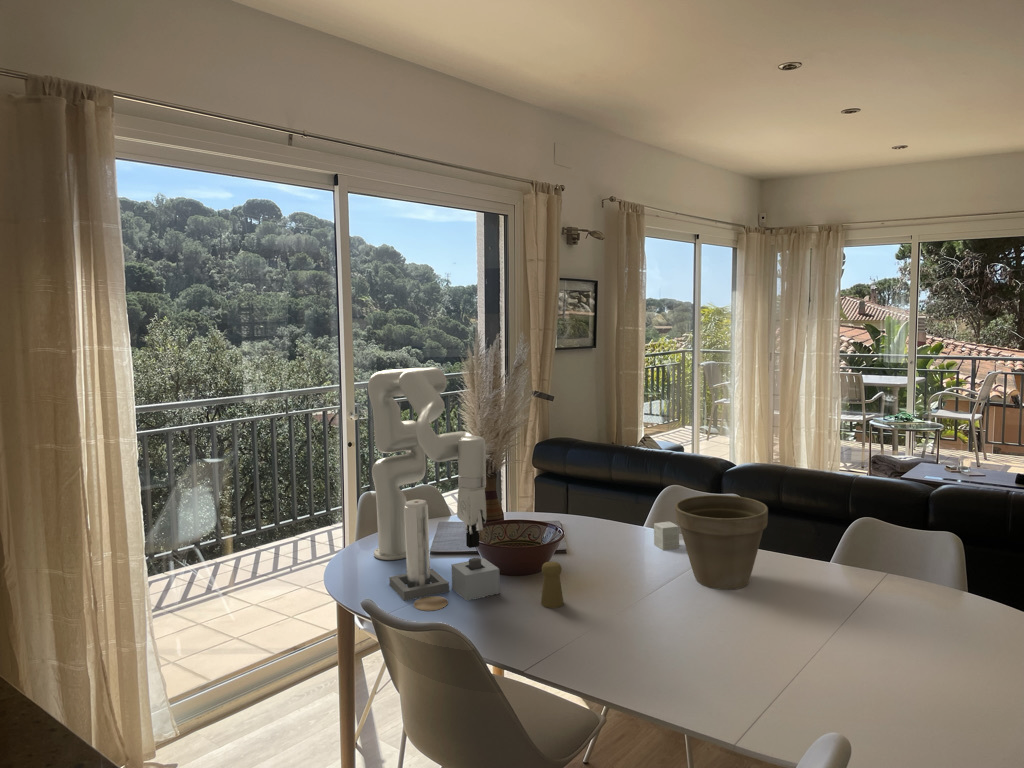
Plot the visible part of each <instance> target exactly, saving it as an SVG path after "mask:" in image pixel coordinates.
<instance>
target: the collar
mask: <svg viewBox="0 0 1024 768" xmlns="http://www.w3.org/2000/svg"><path fill="white" fill-rule="evenodd" d="M388 581H389V586H390V587H391V588H392V590H393V591H394V592H397V593H396V594H397V595H398V596H399V597H400V598H401V599H402V600H403V601H405V602H407V601H411V600H416V599H420V597H421V598H423V597H428V596H435V595H440V594H444V593H449V592H450V582H449V581H448V580H447V579H445V578H444V577H443V576H442V575H441V574H439V573H438V572H437V571H436V570H435V569H434V568H430V584H426V585H421V586H417V587H412V588H408V587H407V585H406V584H407V573H402V574H396V575H391V576H389V579H388ZM415 598H416V599H415Z"/></svg>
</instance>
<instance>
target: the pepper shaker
mask: <svg viewBox="0 0 1024 768" xmlns="http://www.w3.org/2000/svg"><path fill="white" fill-rule="evenodd" d="M562 568H563V567H562V565H561V564H560V563H559V562H557V561H546V562H544V563H543V564H542V566H541V573H542V575H543V581H542V591H541V597H540V599H541V600H540V605H541V606H542V607H544V608H547V607H548V609H556V608H561V607H562V606H564V604H565V602H564V596H563V590H562V583H561V577H560V576H561V574H562V571H563V570H562Z"/></svg>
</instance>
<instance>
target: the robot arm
mask: <svg viewBox="0 0 1024 768" xmlns="http://www.w3.org/2000/svg"><path fill="white" fill-rule="evenodd" d="M367 384H368V385H367V393H368V396H369V401H370V404H371V406H372V407H371V408H372V413H373V414H372V415H373V429H374V430H373V431H374V443H375V447H376V449H377V451H378V452H379V453H383V454H390V453H391V454H392V453H398V452H404V451H405V454H399V455H392V456H387V457H383V458H380V459H378V460H376V462H374V463H373V465H372V468H371V475H372V476H371V477H372V480H373V484H374V489H375V490H374V491H375V498H376V499H375V501H376V520H377V521H376V523H377V540H378V541H377V542H378V545H377V546H378V547H377V548H376V549H374V551H373V556H374V557H375V558H376V559H378V560H383V561H396V560H403V559H406V541H405V516H404V505H405V504H406V502H407V497H406V495H405V493H404V492H403V491H402V489H401V488H400V486H404V485H410V484H413V483H416V482H417V483H418V482H420V481H422V480H423V479H424V477H425V475H426V471H427V470H426V467H427V464H426V456H427V457H428V458H429V459H430V460H431V461H433V462H435V463H440V462H447V461H452V460H457V467H458V468H457V469H458V470H457V474H458V476H457V477H458V481H457V482H458V489H457V502H456V503H457V506H456V507H457V510H456V514H457V515H456V516H457V518H458V519H459V520H461V522H463V523H464V525H465V535H466V537H465V539H466V540H465V542H466V547H468V548H469V549H472V548H477V547H479V546H480V533H481V531H483V529H484V526H483V525H485V524H486V522H487V501H486V499H487V498H486V491H485V488H486V487H487V472H486V471H487V459H486V457H487V456H486V454H487V451H486V450H487V449H486V439H485V438H484V437H482V436H479V435H474V434H472V433H470V432H468V431H465V430H459V431H451V432H447V433H446V432H445V433H440V434H436V432H435V431H434V430H433V428H432V426H431V424H430V423H432V422H434V421H435V420H437V419H438V418H439V417H440V416H441V415H442V414H443V413H444V410H445V407H446V406H445V401H444V400H443V398H442V396H441V394H443V393H444V392H445V391H446V389H447V384H448V383H447V378H446V375H445V373H444V372H443V371H442V370H441V369H440V368H438V367H436V366H433V367H432V366H431V367H430V366H429V367H412V368H411V367H410V368H398V369H397V368H395V369H384V370H381V371H377V372H375V373H374V374H372V375H371V376H370V378H369V381H368V383H367ZM394 397H397V398H398V397H405V399H406V400H407V401H408V402H409V404H410V405H411V407H412V409H413V410H414V412H415V413H416V414H417V416H418V417H417V420H412V419H410V420H409V419H407V420H402V418H401V407H400V405H399V403H398V402H397V401H396V399H395V398H394Z"/></svg>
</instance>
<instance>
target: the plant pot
mask: <svg viewBox="0 0 1024 768" xmlns="http://www.w3.org/2000/svg"><path fill="white" fill-rule="evenodd" d="M674 510H675V512H674V513H675V522H676V525H677V526H679V529H680V532H681V535H682V539H683V542H684V545H685V550H686V553H687V557H688V559H689V562H690V566H691V570H692V573H693V576H694V579H695V581H697V583H698V584H700V585H702V586H704V587H707V588H710V589H717V590H736V589H741V588H743V587H745V586H747V585H748V584H749V583H750V579H751V576H752V572H753V569H754V565H755V561H756V558H757V555H758V551H759V547H760V543H761V540H762V536H763V532H764V530H765V529H766V528H768V527H767V526H768V522H769V521H768V518H769V507H768V506H767V504H765V503H764V502H761V501H760V500H756V499H753V498H750V497H743V496H739V495H738V496H737V495H736V496H735V495H724V494H722V495H721V494H716V495H715V494H711V495H709V494H707V495H697V496H689V497H686V498H683V499H680V500H679V501H677V502H676V503H675V505H674Z"/></svg>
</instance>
